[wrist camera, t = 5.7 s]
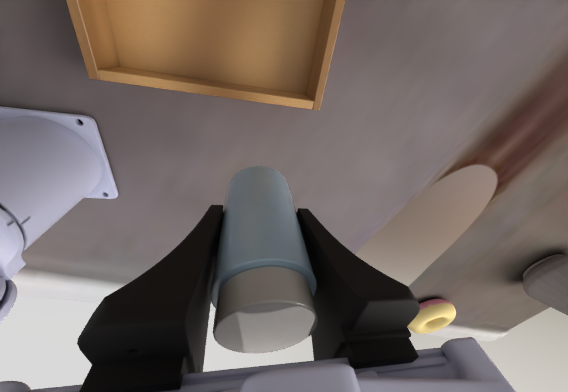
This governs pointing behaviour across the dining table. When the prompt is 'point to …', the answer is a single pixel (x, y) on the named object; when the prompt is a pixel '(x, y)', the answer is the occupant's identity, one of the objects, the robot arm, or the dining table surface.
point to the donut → (433, 316)
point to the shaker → (261, 267)
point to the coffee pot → (549, 282)
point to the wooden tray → (212, 46)
